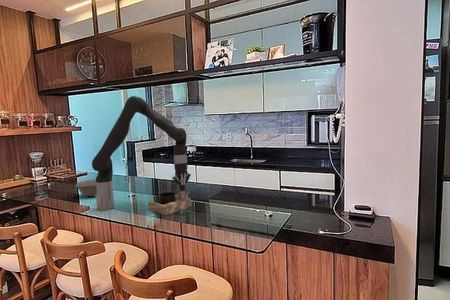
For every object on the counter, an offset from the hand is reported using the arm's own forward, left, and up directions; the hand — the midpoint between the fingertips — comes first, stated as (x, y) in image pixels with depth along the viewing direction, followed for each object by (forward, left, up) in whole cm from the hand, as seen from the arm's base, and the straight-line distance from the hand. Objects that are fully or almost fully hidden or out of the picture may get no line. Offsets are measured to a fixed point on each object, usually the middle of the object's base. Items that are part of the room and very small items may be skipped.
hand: (182, 190), depth 173 cm
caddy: (-5, +7, -11) cm, 13 cm away
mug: (-5, +7, -11) cm, 14 cm away
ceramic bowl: (-18, +82, -11) cm, 85 cm away
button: (0, 0, -4) cm, 4 cm away
